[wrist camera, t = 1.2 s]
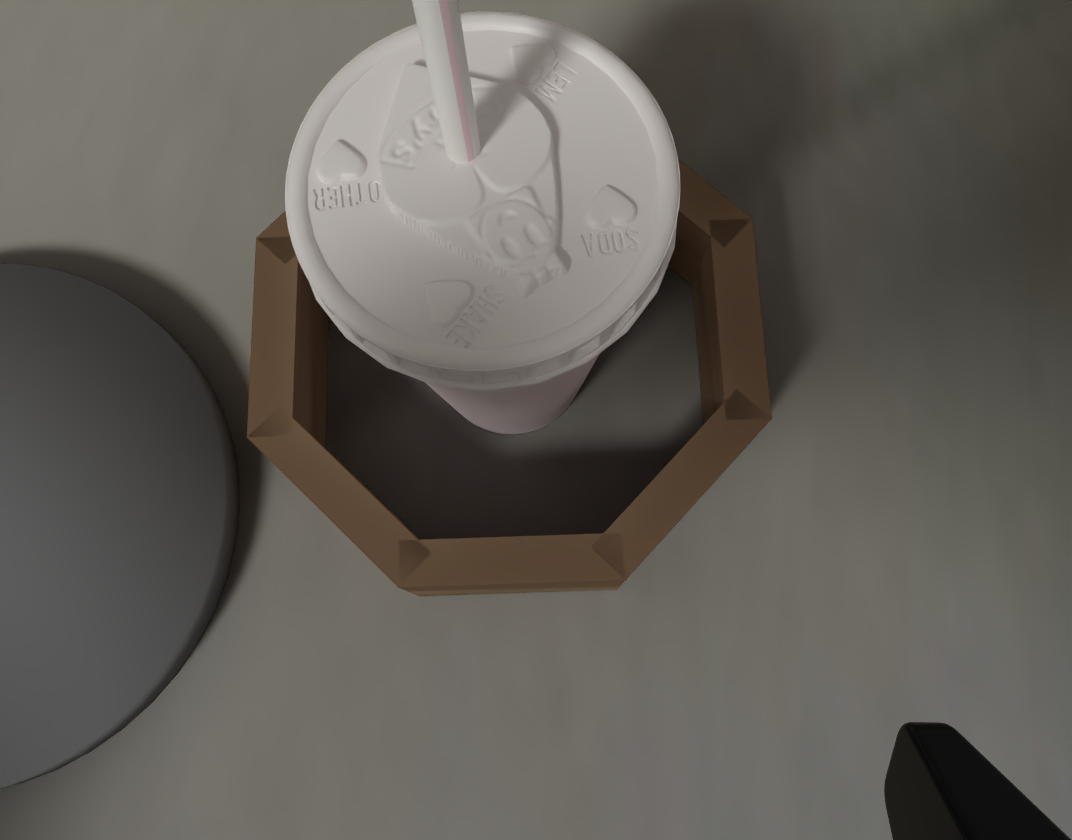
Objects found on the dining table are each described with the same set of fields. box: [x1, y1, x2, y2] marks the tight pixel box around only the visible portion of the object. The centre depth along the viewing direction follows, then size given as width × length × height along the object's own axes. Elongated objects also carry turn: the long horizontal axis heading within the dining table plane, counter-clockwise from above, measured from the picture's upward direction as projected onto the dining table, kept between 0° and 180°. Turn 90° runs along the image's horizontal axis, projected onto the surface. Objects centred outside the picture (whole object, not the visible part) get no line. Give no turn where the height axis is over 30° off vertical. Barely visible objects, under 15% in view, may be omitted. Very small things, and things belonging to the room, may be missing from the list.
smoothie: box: [285, 0, 680, 434], centre depth 17 cm, size 6×6×14 cm
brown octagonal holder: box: [247, 159, 772, 596], centre depth 22 cm, size 12×12×3 cm
